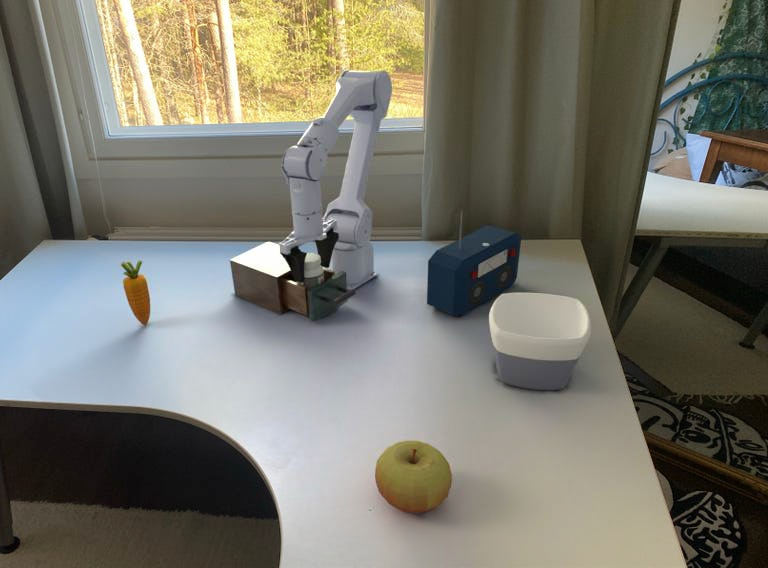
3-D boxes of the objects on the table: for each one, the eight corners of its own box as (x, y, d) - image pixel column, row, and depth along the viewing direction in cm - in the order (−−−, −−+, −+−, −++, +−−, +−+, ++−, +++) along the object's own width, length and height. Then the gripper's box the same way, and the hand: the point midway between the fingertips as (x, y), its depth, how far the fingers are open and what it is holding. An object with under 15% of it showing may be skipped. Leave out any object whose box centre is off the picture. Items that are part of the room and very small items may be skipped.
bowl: (583, 404, 97) (595, 344, 92) (481, 392, 102) (486, 334, 97) (578, 350, 110) (589, 295, 104) (487, 341, 115) (492, 288, 109)
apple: (436, 466, 89) (438, 422, 85) (460, 518, 81) (464, 473, 77) (368, 476, 88) (367, 433, 84) (386, 530, 80) (385, 485, 76)
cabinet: (318, 292, 137) (315, 256, 132) (280, 314, 130) (276, 277, 126) (272, 275, 146) (268, 241, 141) (234, 294, 139) (229, 259, 135)
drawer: (363, 307, 128) (362, 277, 124) (329, 328, 122) (327, 298, 118) (300, 284, 139) (298, 256, 135) (267, 302, 133) (263, 274, 129)
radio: (458, 323, 121) (464, 226, 110) (423, 308, 127) (425, 215, 117) (522, 285, 131) (532, 193, 121) (486, 273, 137) (494, 184, 127)
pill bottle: (329, 298, 130) (328, 253, 125) (317, 310, 126) (315, 265, 121) (305, 293, 132) (303, 250, 128) (292, 305, 128) (289, 260, 123)
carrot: (159, 318, 133) (145, 254, 125) (153, 331, 129) (137, 265, 121) (137, 319, 134) (121, 255, 126) (130, 331, 129) (113, 266, 122)
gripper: (295, 227, 113) (301, 293, 120) (347, 201, 121) (350, 265, 128) (268, 219, 117) (276, 283, 124) (320, 195, 125) (324, 256, 133)
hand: (312, 273), depth 126 cm, fingers open, 7 cm apart
